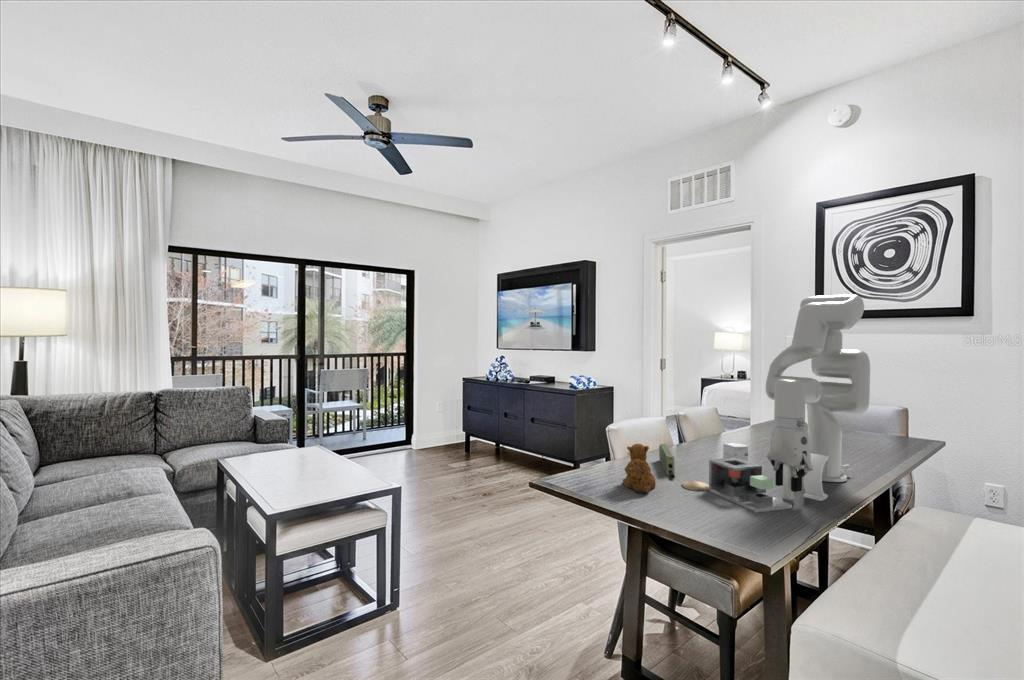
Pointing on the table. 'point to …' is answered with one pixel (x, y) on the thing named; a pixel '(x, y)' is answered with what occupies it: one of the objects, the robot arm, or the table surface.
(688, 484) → the cork coaster
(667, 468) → the handheld radio
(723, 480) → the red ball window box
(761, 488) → the on button
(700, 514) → the table surface
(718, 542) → the table surface
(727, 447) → the skincare box
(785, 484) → the white rounded rod
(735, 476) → the plunger
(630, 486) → the brown rounded furry figure
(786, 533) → the table surface
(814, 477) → the headphone stand
